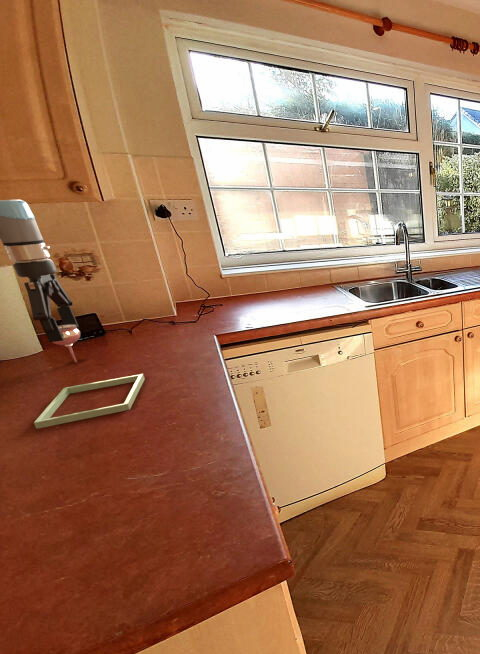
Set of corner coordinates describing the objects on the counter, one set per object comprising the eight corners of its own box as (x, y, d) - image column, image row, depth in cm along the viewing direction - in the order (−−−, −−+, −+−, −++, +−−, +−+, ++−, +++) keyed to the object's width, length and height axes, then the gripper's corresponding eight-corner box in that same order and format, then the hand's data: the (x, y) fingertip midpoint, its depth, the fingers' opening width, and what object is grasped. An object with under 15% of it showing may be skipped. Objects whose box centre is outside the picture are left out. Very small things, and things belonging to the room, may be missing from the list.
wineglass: (74, 371, 122) (57, 332, 118) (55, 370, 123) (37, 331, 119) (99, 362, 128) (83, 324, 124) (80, 361, 129) (64, 323, 125)
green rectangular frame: (39, 434, 91) (33, 422, 90) (68, 397, 107) (63, 387, 106) (131, 414, 99) (127, 403, 97) (146, 383, 114) (143, 373, 113)
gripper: (33, 265, 106) (68, 344, 114) (66, 253, 126) (94, 321, 134) (-10, 269, 102) (29, 350, 110) (31, 256, 122) (62, 325, 130)
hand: (65, 334), depth 122 cm, fingers open, 13 cm apart
